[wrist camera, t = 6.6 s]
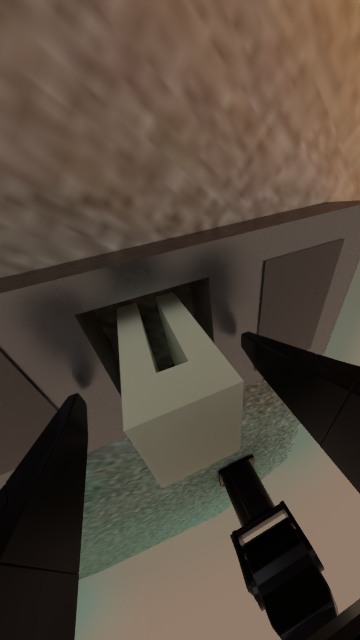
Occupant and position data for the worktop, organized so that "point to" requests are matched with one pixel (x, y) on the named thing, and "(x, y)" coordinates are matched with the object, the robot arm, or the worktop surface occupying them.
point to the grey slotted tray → (155, 275)
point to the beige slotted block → (177, 394)
